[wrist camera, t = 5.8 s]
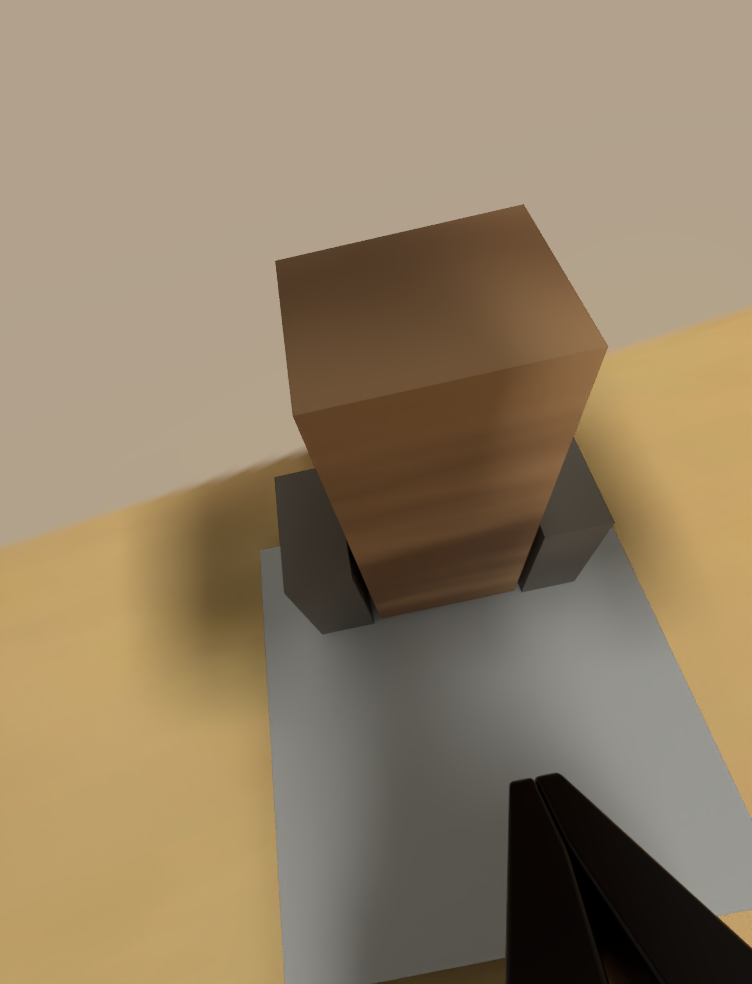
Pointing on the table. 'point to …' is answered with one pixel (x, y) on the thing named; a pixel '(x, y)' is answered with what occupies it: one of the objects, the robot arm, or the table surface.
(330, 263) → the tall wooden post
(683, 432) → the table surface
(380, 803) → the grey stand
